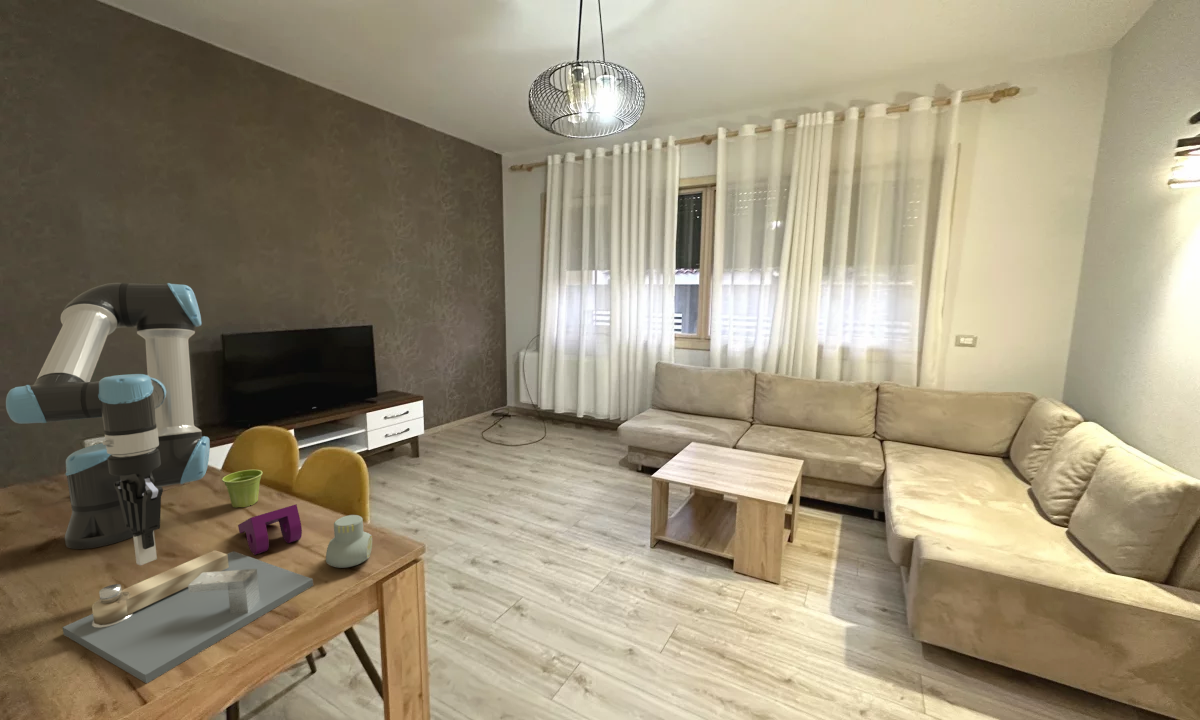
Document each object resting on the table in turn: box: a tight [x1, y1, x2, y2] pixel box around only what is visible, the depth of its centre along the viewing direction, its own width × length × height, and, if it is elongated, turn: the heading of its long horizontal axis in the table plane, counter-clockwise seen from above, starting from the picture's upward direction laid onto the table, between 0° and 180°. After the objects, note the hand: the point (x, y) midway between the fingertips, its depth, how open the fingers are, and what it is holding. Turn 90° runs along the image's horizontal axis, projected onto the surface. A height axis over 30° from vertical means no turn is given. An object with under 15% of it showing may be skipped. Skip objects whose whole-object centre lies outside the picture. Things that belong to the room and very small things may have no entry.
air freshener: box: [325, 514, 373, 569], centre depth 109 cm, size 11×8×10 cm
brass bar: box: [91, 549, 229, 624], centre depth 94 cm, size 20×5×3 cm, turn 157°
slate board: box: [62, 550, 314, 684], centre depth 93 cm, size 27×28×2 cm
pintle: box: [92, 583, 135, 628], centre depth 87 cm, size 6×6×6 cm
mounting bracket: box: [237, 504, 303, 556], centre depth 119 cm, size 9×8×18 cm
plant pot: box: [221, 469, 263, 508], centre depth 138 cm, size 9×9×9 cm
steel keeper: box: [188, 569, 260, 614], centre depth 90 cm, size 10×4×6 cm, turn 99°
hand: (146, 561), depth 98 cm, fingers closed
